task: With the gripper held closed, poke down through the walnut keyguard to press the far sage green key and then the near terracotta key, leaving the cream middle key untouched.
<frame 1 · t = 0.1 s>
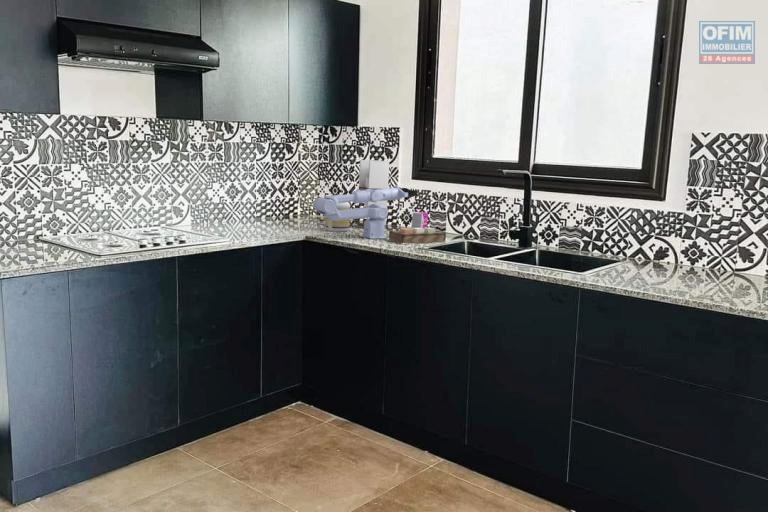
hand: (412, 192, 335), 22 cm above the table, tool horizontal, fingers open, 7 cm apart
cream key: (417, 232, 324), point 4 cm above the table, slide at 0.0 cm
sage key: (428, 231, 327), point 4 cm above the table, slide at 0.0 cm
supplement box: (418, 235, 344), on the table
terracotta key: (406, 232, 320), point 4 cm above the table, slide at 0.0 cm
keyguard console: (417, 241, 324), on the table
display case: (371, 228, 361), on the table
supplement tub: (336, 230, 345), on the table
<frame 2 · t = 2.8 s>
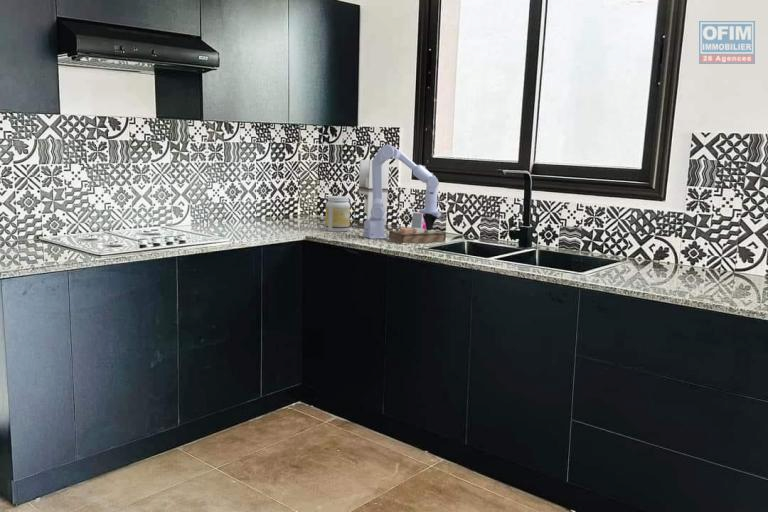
hand: (429, 230, 327), 5 cm above the table, tool pointing down, fingers closed, pressing on sage key
sage key: (428, 233, 327), point 3 cm above the table, slide at 0.9 cm, touching gripper
everything else where it was.
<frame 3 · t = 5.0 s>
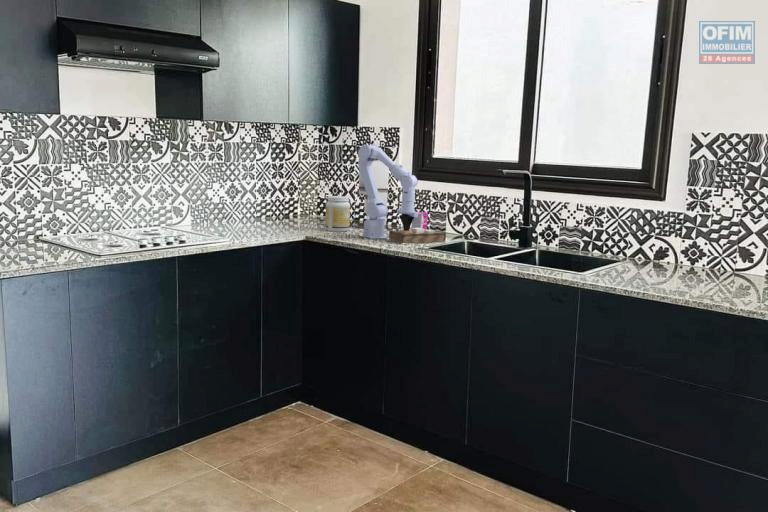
hand: (406, 230, 320), 5 cm above the table, tool pointing down, fingers closed, pressing on terracotta key
sage key: (428, 233, 327), point 3 cm above the table, slide at 1.0 cm
terracotta key: (406, 234, 320), point 3 cm above the table, slide at 0.8 cm, touching gripper
everything else where it was.
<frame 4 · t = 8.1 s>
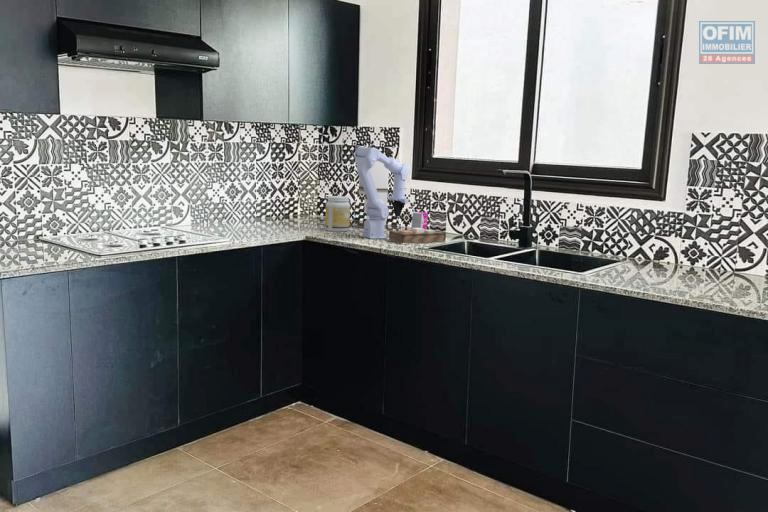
hand: (397, 216, 338), 9 cm above the table, tool pointing down, fingers closed
terracotta key: (406, 234, 320), point 3 cm above the table, slide at 1.0 cm
everything else where it was.
at the end: sage key slide at 1.0 cm; terracotta key slide at 1.0 cm; cream key slide at 0.0 cm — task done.
